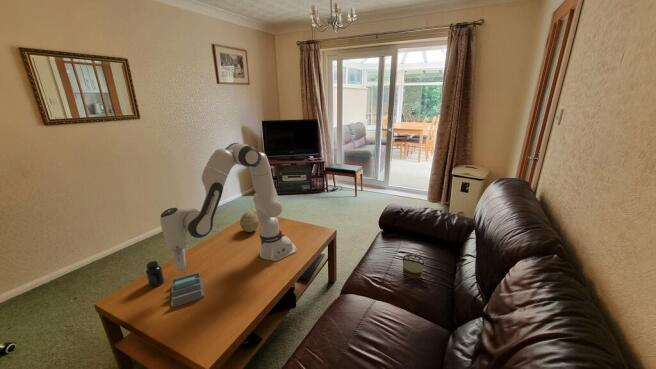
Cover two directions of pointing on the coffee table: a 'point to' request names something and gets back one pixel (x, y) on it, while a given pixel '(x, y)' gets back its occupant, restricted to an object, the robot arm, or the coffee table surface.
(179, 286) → the teal upright panel
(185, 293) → the rack
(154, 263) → the supplement bottle
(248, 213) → the fossilized egg
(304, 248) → the coffee table surface
